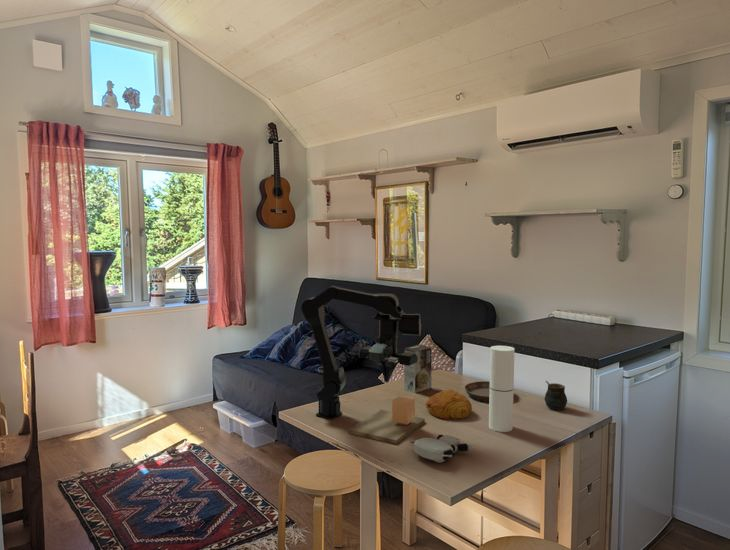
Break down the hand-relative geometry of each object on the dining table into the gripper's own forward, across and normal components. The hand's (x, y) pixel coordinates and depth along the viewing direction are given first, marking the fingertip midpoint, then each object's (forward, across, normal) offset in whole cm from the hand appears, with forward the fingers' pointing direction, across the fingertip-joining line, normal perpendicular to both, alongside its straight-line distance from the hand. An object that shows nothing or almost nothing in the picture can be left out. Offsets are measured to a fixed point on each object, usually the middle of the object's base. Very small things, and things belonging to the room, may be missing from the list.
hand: (387, 381), depth 171 cm
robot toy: (+12, +26, -16) cm, 33 cm away
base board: (+12, +4, -6) cm, 14 cm away
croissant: (+12, +14, +17) cm, 25 cm away
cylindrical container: (+12, +34, +13) cm, 38 cm away
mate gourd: (+12, +44, +40) cm, 60 cm away
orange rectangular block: (+10, +8, -3) cm, 13 cm away
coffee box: (+12, -6, +35) cm, 37 cm away
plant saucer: (+12, +20, +41) cm, 48 cm away
